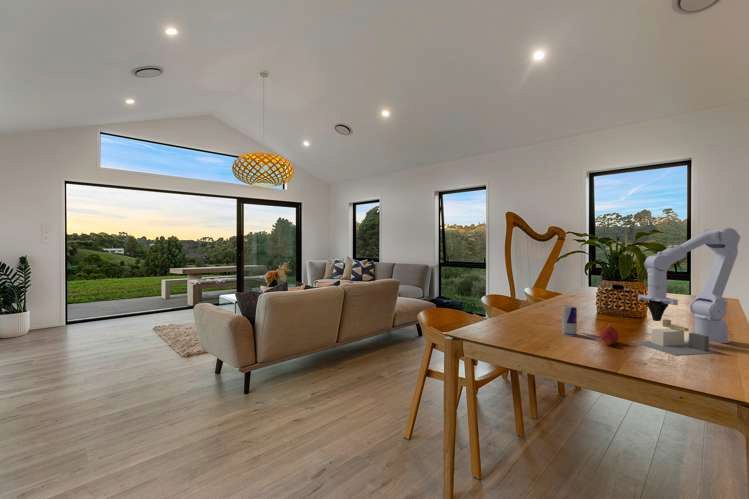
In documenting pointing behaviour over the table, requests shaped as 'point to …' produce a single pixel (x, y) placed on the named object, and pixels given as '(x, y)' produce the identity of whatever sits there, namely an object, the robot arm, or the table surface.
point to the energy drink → (569, 320)
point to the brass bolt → (668, 324)
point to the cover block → (667, 336)
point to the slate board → (683, 346)
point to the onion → (609, 335)
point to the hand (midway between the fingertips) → (656, 320)
